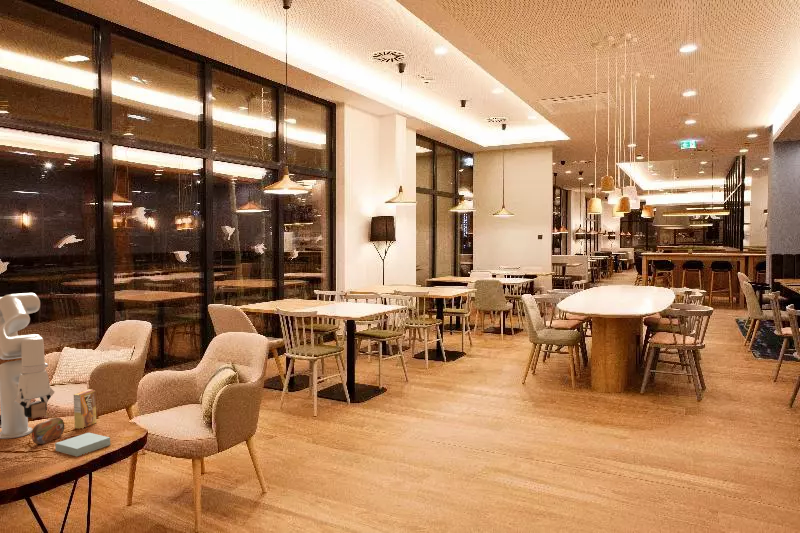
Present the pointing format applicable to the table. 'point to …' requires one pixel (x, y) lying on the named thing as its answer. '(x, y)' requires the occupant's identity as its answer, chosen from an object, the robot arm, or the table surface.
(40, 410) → the walnut block
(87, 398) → the candy box
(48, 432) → the tin
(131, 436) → the table surface
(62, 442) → the plinth
